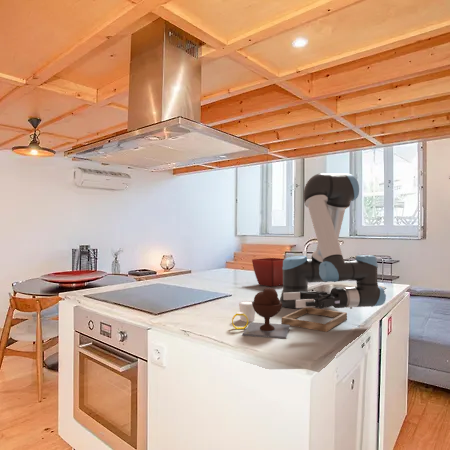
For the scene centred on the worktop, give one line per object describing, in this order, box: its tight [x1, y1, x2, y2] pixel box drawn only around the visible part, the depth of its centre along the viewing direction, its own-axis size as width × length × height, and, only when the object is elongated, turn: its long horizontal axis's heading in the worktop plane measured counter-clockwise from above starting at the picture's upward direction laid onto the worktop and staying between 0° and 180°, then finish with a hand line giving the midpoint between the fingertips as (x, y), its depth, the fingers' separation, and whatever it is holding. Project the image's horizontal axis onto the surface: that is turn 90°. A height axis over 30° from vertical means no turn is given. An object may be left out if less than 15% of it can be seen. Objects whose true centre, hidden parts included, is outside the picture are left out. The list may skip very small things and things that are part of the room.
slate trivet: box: [241, 321, 291, 340], centre depth 124 cm, size 15×15×1 cm
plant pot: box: [251, 257, 285, 288], centre depth 225 cm, size 19×19×17 cm
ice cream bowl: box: [252, 287, 283, 331], centre depth 125 cm, size 11×11×15 cm
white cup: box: [238, 300, 256, 323], centre depth 140 cm, size 7×7×7 cm
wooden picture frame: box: [280, 307, 348, 333], centre depth 136 cm, size 18×22×2 cm
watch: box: [231, 311, 249, 330], centre depth 127 cm, size 6×3×6 cm, turn 91°
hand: (289, 300), depth 126 cm, fingers open, 13 cm apart
